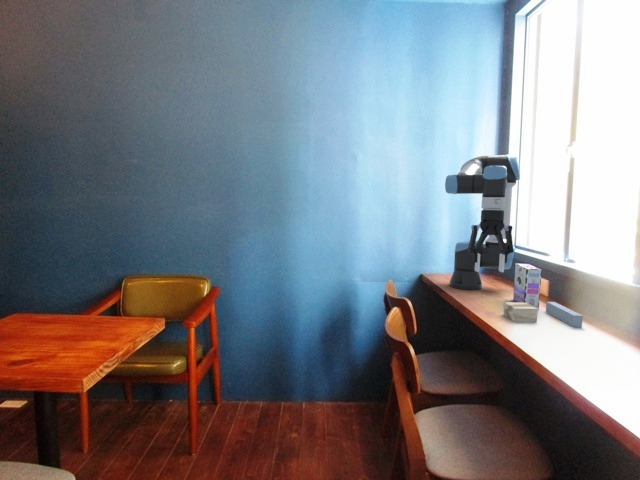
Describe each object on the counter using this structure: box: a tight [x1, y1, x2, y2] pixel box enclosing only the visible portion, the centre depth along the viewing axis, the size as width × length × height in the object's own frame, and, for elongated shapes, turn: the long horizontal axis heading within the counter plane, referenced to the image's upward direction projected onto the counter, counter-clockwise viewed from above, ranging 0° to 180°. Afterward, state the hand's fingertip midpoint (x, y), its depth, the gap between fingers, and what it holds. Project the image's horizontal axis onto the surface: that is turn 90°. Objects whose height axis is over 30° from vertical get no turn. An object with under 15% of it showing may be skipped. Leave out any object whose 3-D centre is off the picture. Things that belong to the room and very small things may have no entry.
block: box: [503, 301, 539, 323], centre depth 133 cm, size 8×8×5 cm
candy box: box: [512, 263, 543, 310], centre depth 150 cm, size 14×6×16 cm, turn 168°
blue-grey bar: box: [545, 301, 584, 328], centre depth 132 cm, size 17×3×4 cm, turn 176°
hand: (489, 271), depth 132 cm, fingers open, 8 cm apart
